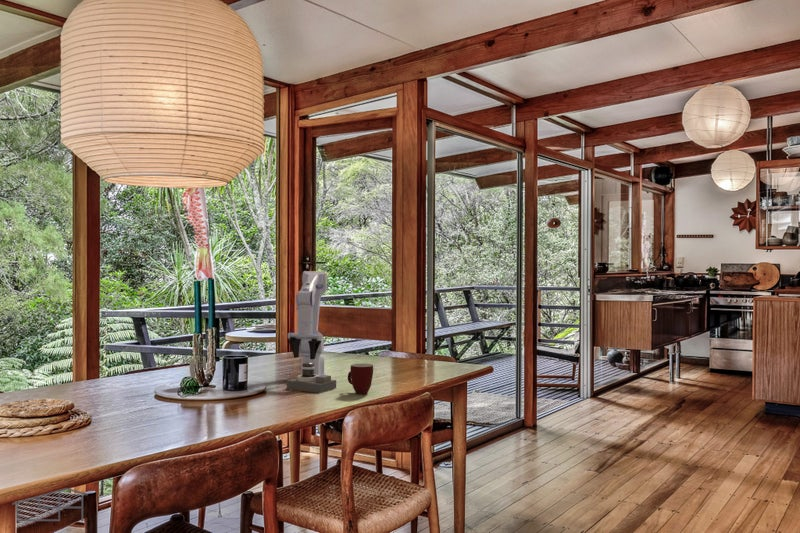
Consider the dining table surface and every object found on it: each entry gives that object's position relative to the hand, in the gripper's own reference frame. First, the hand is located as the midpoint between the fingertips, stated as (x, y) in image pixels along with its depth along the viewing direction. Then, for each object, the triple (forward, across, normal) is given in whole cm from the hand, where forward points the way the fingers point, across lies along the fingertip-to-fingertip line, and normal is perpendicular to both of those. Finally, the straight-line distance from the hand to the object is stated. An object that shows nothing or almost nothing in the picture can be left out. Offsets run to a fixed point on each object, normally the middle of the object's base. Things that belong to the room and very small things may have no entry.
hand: (304, 358), depth 238 cm
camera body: (+10, +7, -5) cm, 13 cm away
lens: (+7, +6, -5) cm, 10 cm away
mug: (+10, +26, -3) cm, 28 cm away
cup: (+10, -31, -22) cm, 39 cm away
